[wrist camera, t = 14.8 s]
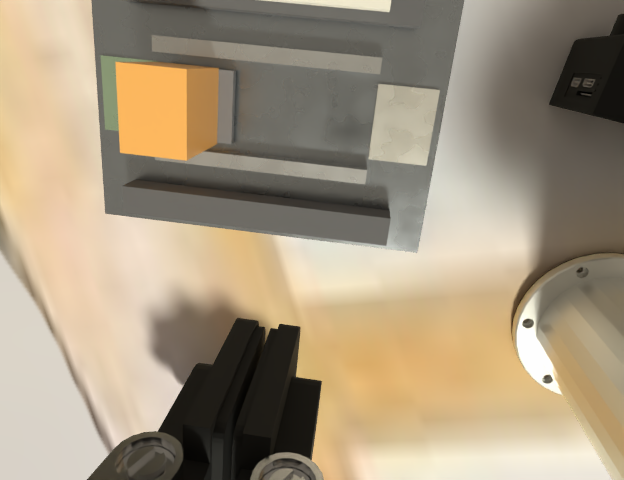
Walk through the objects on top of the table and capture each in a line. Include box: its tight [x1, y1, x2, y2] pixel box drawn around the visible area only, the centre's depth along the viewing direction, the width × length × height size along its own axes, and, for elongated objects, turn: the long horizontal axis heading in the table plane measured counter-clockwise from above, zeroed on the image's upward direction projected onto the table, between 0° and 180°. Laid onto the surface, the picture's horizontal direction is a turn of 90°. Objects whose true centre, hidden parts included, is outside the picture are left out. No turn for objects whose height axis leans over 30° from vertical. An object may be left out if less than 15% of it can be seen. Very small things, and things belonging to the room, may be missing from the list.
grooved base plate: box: [122, 0, 426, 246], centre depth 31 cm, size 19×16×3 cm
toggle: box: [115, 62, 236, 161], centre depth 30 cm, size 6×5×7 cm
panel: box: [92, 0, 464, 253], centre depth 33 cm, size 24×18×3 cm
